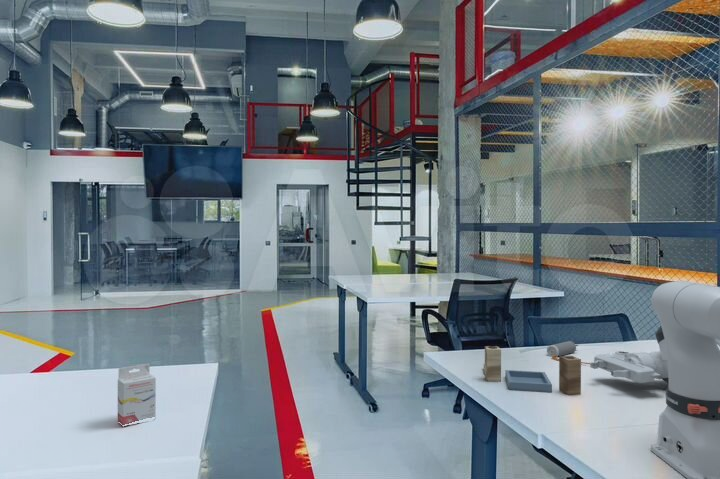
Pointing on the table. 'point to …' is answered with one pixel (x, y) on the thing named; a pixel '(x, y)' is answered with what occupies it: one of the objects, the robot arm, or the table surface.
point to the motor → (561, 349)
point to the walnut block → (570, 375)
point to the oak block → (492, 364)
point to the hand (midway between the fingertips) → (601, 369)
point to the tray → (528, 381)
